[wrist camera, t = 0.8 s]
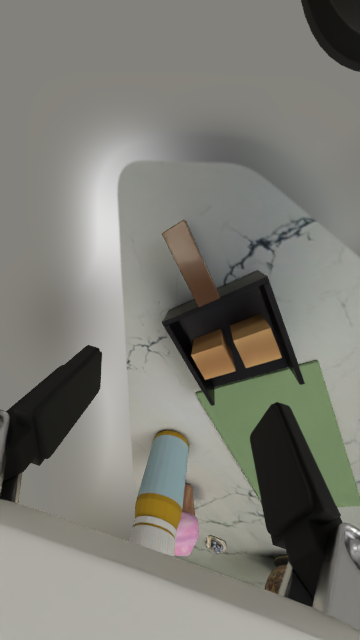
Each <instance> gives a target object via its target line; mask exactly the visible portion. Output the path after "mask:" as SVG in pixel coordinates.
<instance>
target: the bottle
mask: <svg viewBox="0 0 360 640" xmlns="http://www.w3.org/2000/svg"><path fill="white" fill-rule="evenodd" d="M188 451H189V444H188V442H187V440H186V438H185V437H184V436H183V435H182V434H180V433H178V432H176V431H172V430H165V431H162V432H160V433H159V434H157V435H156V436H155V438H154V441H153V444H152V448H151V451H150V455H149V458H148V462H147V465H146V469H145V472H144V476H143V479H142V483H141V486H140V490H139V493H138V497H137V501H136V507H135V520H134V524H133V527H132V530H131V533H130V537H129V540H128V541H129V542H132V543H135V544H138V545H141V546H144V547H147V548H149V549H152V550H155V551H158V552H161V553H164V554H167V555H169V556H172V557H174V552H175V540H176V534H177V532H176V531H177V528H178V525H179V522H180V520H181V515H182V507H183V498H184V488H185V479H186V470H187V460H188Z"/></svg>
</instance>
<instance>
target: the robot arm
mask: <svg viewBox="0 0 360 640" xmlns="http://www.w3.org/2000/svg"><path fill="white" fill-rule="evenodd" d="M101 361H102V352H100V351H99V348H96V347H93V346H90V345H88V346H86V347H85V348H83V349H82V350H81V351H80V352H79V353H78V354H76V355H75V356H74V357H73V358H72V359H71V360H69V361H68V362H67V363H66V364H65V365H62V366H60V367H59V368H57V369H56V370H55V371H54V372H52V374H50V375H49V376H48V377H47V378H46V379H44V380H43V381H42V382H41V383H39V384H38V385H37V386H36V387H35V388H33V389H32V390H31V391H30V392H29V393H28V394H26V395H25V396H24V397H23V398H22V399H20V400H19V401H18V402H17V403H16V404H14V405H13V406H12V407H11V408H10V409H9V410H7V411H6V412H5V411H3V410H0V640H360V529H358V528H357V527H355V526H353V525H352V524H349V523H342V520H341V518H340V516H341V515H340V513H339V511H338V509H337V506H336V504H335V502H334V500H333V498H332V496H331V493H330V491H329V489H328V487H327V485H326V483H325V481H324V478H323V476H322V474H321V472H320V470H319V468H318V466H317V463H316V461H315V459H314V457H313V455H312V453H311V450H310V448H309V446H308V444H307V442H306V440H305V438H304V435H303V433H302V431H301V429H300V427H299V425H298V422H297V420H296V418H295V416H294V414H293V412H292V410H291V408H290V406H288V405H285V404H282V403H279V402H276V403H274V404H271V405H270V407H269V408H268V410H267V411H266V413H265V414H264V415H263V417H262V418H261V420H260V421H259V423H258V424H257V426H256V427H255V429H254V430H253V431H252V433H251V435H250V443H251V449H252V454H253V459H254V465H255V470H256V475H257V481H258V486H259V491H260V496H261V502H262V507H263V512H264V518H265V523H266V528H267V530H268V532H269V534H271V538H272V543H273V545H275V546H278V547H281V548H284V549H286V551H287V555H288V559H289V562H288V565H287V568H286V571H285V574H284V577H283V580H282V583H281V586H280V589H279V592H278V594H276V593H273V592H270V591H268V590H265V589H262V588H259V587H257V586H254V585H251V584H248V583H245V582H243V581H240V580H237V579H234V578H231V577H229V576H226V575H223V574H220V573H217V572H215V571H212V570H209V569H206V568H203V567H201V566H198V565H195V564H192V563H189V562H186V561H184V560H181V559H178V558H175V557H172V556H169V555H167V554H164V553H161V552H158V551H155V550H152V549H149V548H147V547H144V546H141V545H138V544H135V543H132V542H129V541H127V540H124V539H121V538H118V537H115V536H112V535H109V534H106V533H104V532H101V531H97V530H95V529H92V528H89V527H86V526H83V525H80V524H77V523H75V522H72V521H69V520H66V519H63V518H60V517H57V516H54V515H51V514H48V513H45V512H42V511H39V510H36V509H32V508H29V507H26V506H23V505H20V504H18V502H19V494H20V486H21V478H22V472H24V470H25V469H26V468H27V467H28V465H29V464H30V463H33V464H36V465H41V463H42V462H43V461H44V459H48V458H49V457H51V455H52V454H53V453H54V452H55V450H56V449H57V447H58V446H59V445H60V443H61V442H62V441H63V439H64V438H65V437H66V435H67V434H68V433H69V431H70V430H71V428H72V427H73V426H74V424H75V423H76V422H77V420H78V419H79V418H80V416H81V415H82V414H83V412H84V411H85V410H86V408H87V407H88V405H89V404H90V403H91V401H92V400H93V399H94V397H95V396H96V394H97V393H98V391H99V389H100V383H101V382H100V381H101Z"/></svg>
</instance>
